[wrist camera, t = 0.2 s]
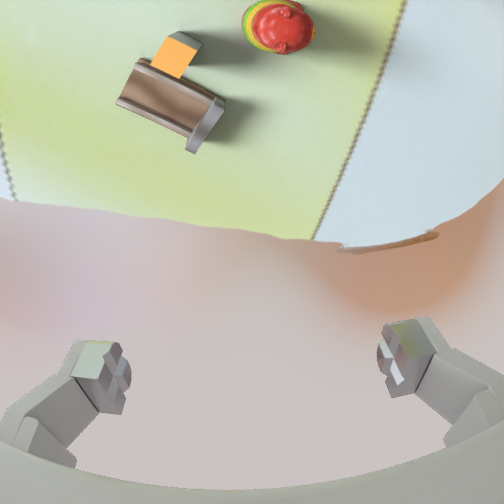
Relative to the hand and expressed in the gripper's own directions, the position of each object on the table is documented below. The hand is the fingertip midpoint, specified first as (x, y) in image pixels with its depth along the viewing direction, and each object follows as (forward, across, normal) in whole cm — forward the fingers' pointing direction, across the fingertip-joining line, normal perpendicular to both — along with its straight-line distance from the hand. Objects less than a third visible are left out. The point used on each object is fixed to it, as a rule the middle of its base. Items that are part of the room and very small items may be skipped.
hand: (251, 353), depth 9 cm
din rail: (+51, +13, -9) cm, 54 cm away
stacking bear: (+48, -6, -22) cm, 53 cm away
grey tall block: (+48, +9, -19) cm, 52 cm away
